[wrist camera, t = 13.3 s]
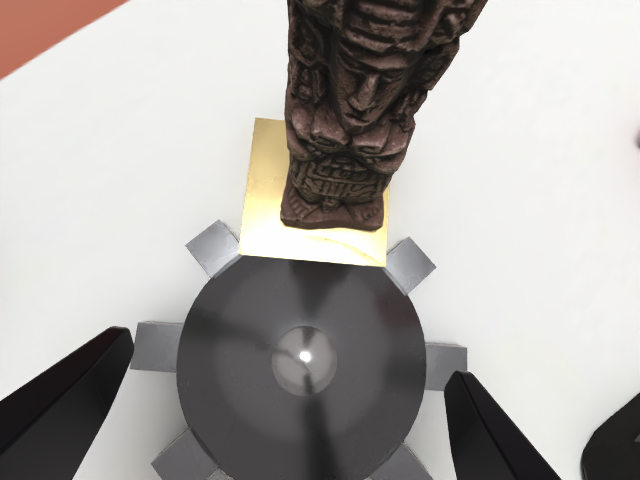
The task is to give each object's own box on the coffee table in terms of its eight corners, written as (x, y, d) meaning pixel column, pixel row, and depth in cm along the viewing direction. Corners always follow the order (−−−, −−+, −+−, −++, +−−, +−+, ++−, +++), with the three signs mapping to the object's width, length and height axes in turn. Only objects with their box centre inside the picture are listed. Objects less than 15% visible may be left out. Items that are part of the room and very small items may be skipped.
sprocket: (457, 543, 21) (476, 572, 18) (111, 527, 20) (88, 555, 17) (459, 147, 25) (473, 133, 23) (181, 118, 24) (170, 100, 22)
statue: (280, 228, 22) (124, -316, 3) (287, 132, 23) (222, -729, 4) (379, 234, 23) (922, -200, 3) (380, 139, 24) (764, -613, 4)
